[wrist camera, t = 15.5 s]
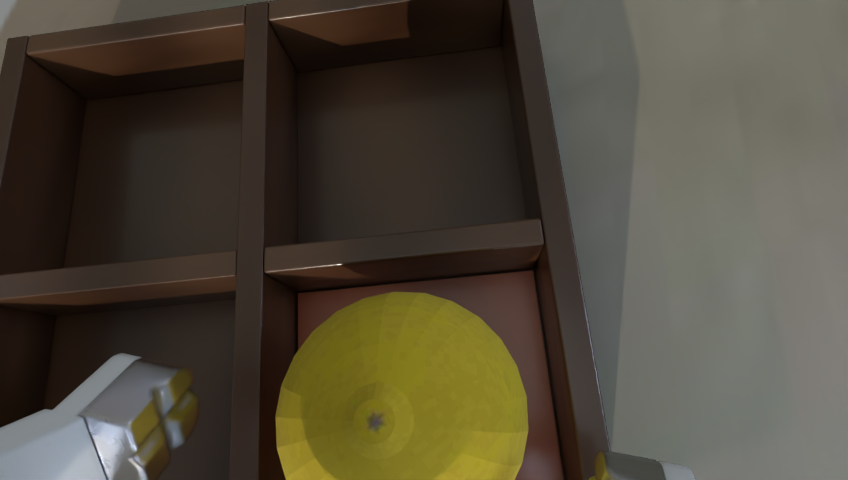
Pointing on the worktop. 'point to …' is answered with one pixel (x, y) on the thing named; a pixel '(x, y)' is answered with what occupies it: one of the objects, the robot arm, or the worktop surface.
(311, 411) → the lemon
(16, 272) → the grid
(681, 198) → the worktop surface
